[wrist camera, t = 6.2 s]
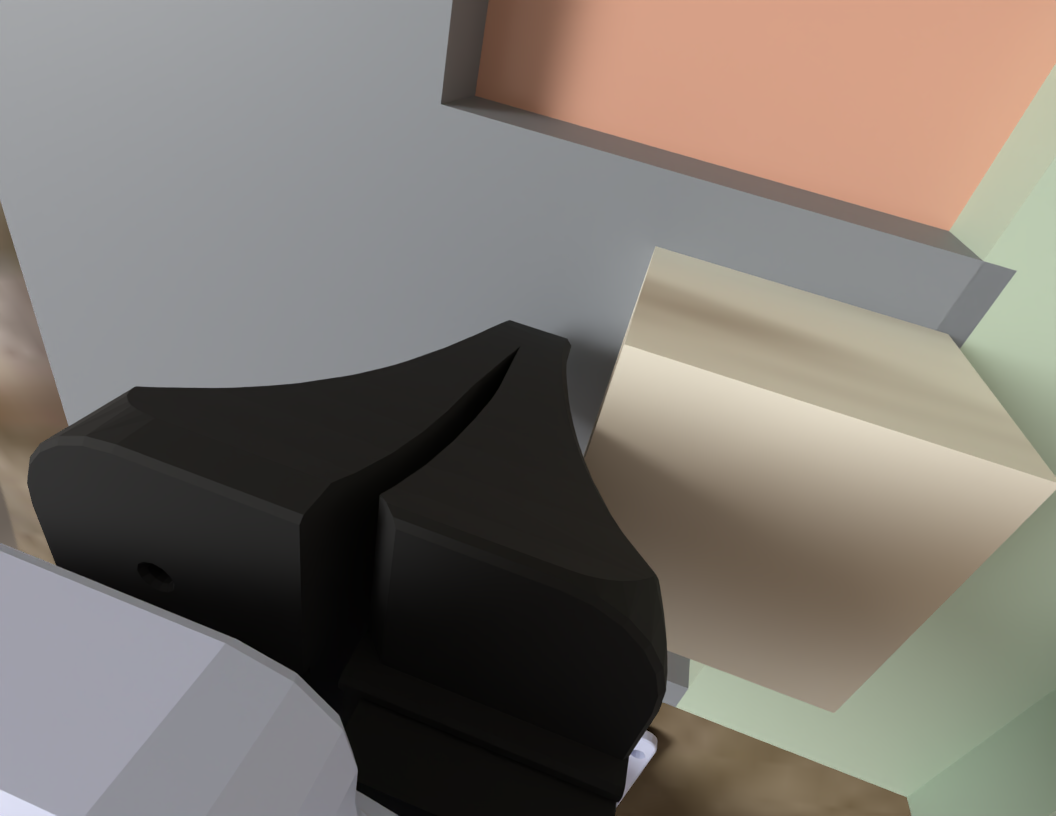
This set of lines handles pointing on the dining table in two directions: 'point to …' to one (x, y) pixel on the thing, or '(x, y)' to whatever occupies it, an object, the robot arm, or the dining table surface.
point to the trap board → (571, 244)
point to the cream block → (801, 474)
